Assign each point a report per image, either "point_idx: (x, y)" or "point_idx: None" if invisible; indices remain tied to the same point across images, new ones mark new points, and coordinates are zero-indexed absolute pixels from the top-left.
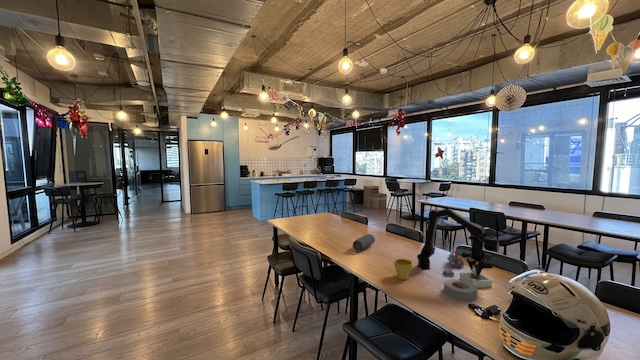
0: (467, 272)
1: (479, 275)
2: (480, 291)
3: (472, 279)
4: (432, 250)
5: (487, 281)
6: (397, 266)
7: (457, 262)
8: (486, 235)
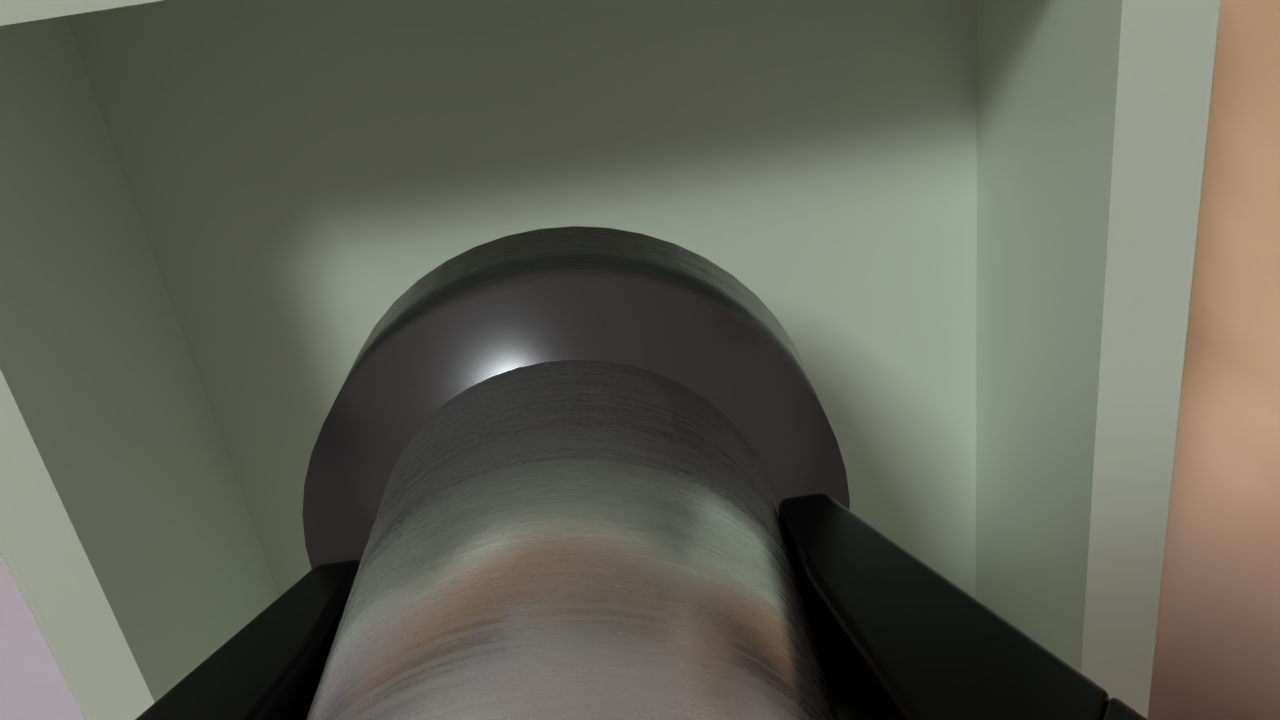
0: (108, 668)
1: (631, 340)
2: (1266, 483)
3: (333, 343)
4: None
5: (1180, 104)
6: None
7: None
8: None
